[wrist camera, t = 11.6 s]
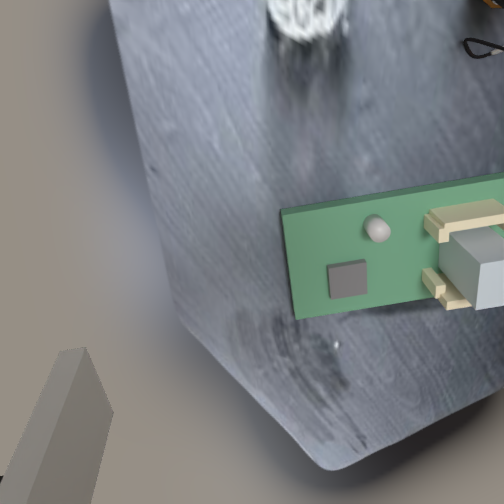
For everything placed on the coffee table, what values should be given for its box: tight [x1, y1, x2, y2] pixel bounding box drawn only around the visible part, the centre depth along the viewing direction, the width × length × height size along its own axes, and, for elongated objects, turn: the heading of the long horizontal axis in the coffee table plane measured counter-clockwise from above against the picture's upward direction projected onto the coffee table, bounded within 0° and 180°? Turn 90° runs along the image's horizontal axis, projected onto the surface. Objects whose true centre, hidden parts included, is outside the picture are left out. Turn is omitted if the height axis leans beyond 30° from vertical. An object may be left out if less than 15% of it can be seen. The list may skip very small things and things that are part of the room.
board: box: [280, 172, 504, 320], centre depth 46 cm, size 13×24×6 cm, turn 99°
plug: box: [438, 226, 504, 310], centre depth 44 cm, size 5×4×9 cm
